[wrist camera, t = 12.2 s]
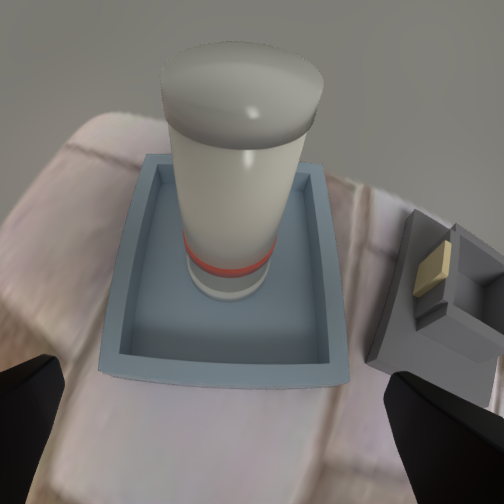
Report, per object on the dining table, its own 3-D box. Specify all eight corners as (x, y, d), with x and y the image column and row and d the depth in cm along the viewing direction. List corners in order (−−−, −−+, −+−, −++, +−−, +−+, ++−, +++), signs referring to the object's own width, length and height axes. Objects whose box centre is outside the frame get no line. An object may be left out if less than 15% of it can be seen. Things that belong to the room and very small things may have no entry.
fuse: (267, 304, 17) (338, 122, 6) (184, 299, 17) (139, 109, 6) (267, 234, 19) (311, 50, 9) (193, 229, 19) (178, 40, 8)
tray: (332, 386, 15) (350, 382, 13) (114, 377, 14) (97, 370, 12) (313, 188, 22) (322, 164, 20) (151, 178, 21) (146, 154, 19)
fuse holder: (474, 409, 15) (522, 399, 11) (365, 363, 16) (407, 345, 12) (492, 274, 20) (526, 247, 16) (406, 220, 22) (435, 181, 18)
